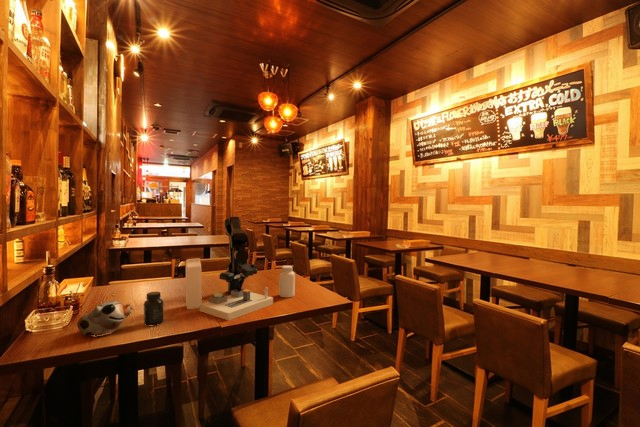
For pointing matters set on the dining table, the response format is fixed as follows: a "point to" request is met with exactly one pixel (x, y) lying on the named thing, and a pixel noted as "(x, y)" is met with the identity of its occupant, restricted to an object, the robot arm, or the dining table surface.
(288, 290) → the pill bottle
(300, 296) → the dining table surface
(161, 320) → the supplement bottle
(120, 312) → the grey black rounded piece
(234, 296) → the console
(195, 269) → the milk
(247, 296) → the slider
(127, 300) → the dining table surface
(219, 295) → the pale yellow button
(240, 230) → the robot arm
